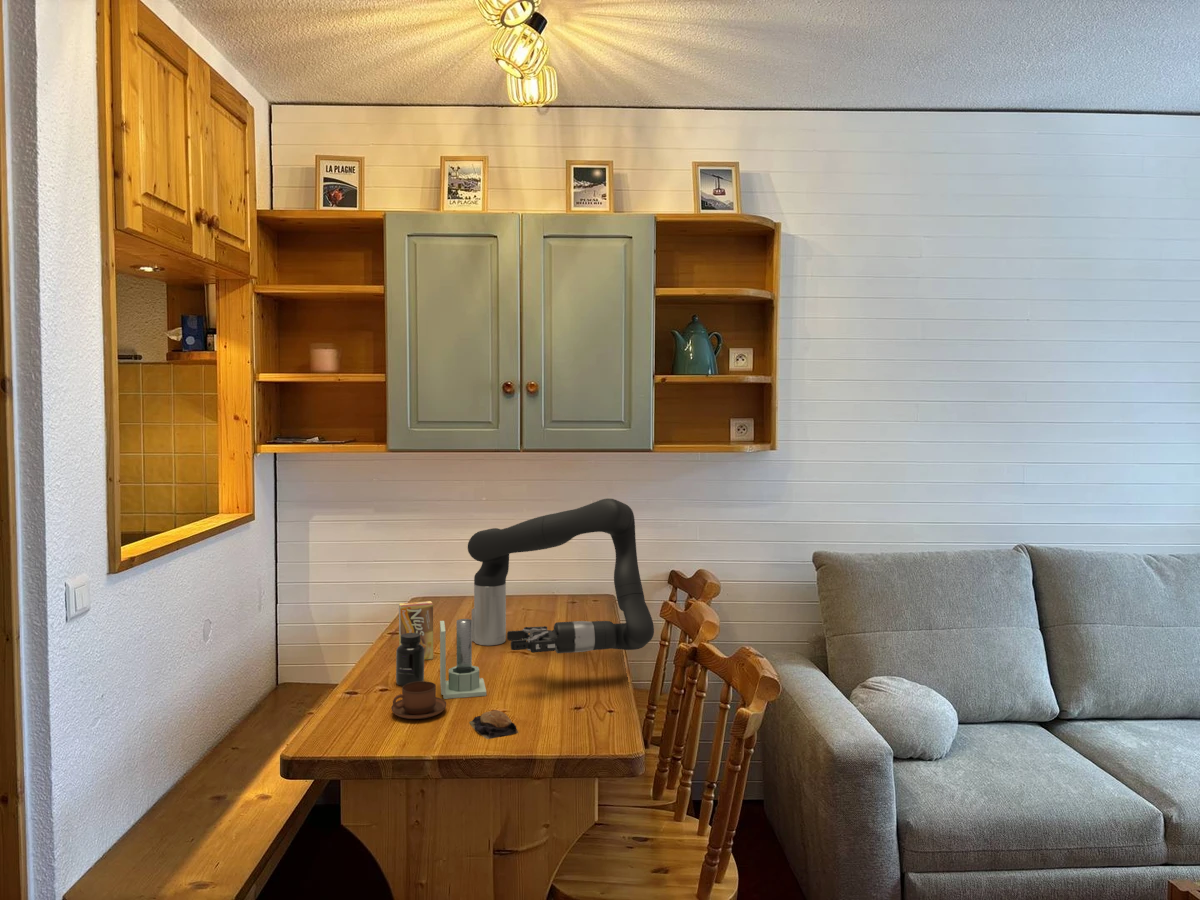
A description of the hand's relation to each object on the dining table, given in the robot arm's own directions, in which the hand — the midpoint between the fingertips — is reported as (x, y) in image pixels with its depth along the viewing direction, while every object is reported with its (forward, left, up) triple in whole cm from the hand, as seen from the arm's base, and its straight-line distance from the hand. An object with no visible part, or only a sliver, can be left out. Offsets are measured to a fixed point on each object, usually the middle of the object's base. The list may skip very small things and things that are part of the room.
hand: (509, 640), depth 195 cm
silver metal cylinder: (-8, -8, -10) cm, 15 cm away
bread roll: (+13, -22, -12) cm, 28 cm away
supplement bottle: (-23, -11, -12) cm, 28 cm away
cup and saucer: (-6, -24, -12) cm, 28 cm away
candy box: (-36, +4, -12) cm, 38 cm away
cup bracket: (-8, -8, -11) cm, 16 cm away
